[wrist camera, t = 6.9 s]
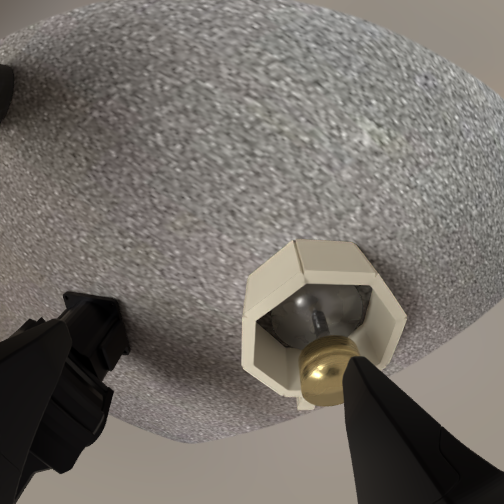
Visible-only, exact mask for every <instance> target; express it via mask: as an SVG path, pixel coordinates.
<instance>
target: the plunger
mask: <svg viewBox="0 0 504 504" xmlns="http://www.w3.org/2000/svg"><path fill="white" fill-rule="evenodd" d="M362 310H363V305H362V299H361V296H360V294H359V292H358V290H357V288H356V287H355V285H343V284H311V283H306V284H305V285H304V286H302V287H301V288H300V289H298V290H297V291H296V292H294V293H293V294H292V295H290V296H289V297H288V298H286V299H285V300H284V301H282V302H281V303H280V304H278V305H277V306H276V307H274V308H273V309H271V321H272V326H273V329H274V331H275V333H276V334H277V336H278V337H279V338H280V339H281V340H282V341H283V342H284V343H286V344H287V345H289V346H291V347H294V348H297V349H300V350H302V351H301V353H300V355H299V358H298V366H299V375H300V384H301V393H302V396H303V398H304V399H305V400H306V401H307V402H309V403H311V404H313V405H317V406H334V405H339V404H342V403H344V397H343V385H342V379H343V375H344V372H345V370H346V367H347V364H348V362H349V360H350V358H351V357H353V356H360V353H359V350H358V347H357V345H356V344H355V342H354V341H353V340H351V339H350V338H348V336H349V335H350V334H351V333H352V332H353V331H354V330H355V328H356V327H357V325H358V323H359V322H360V319H361V316H362Z"/></svg>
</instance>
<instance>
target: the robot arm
mask: <svg viewBox="0 0 504 504" xmlns="http://www.w3.org/2000/svg"><path fill="white" fill-rule="evenodd" d="M63 299H64V302H65V305H66V308H67V309H66V310H65V311H64V312H63V313H62V314H61V315H60V316H59V317H58V318H57V319H56V318H55V319H52V320H49V321H47V322H45V320H44V319H43V318H42V317H41V318H40V319H39V320H38V321H37V322H36V320H35V321H34V320H32V319H28V320H27V321H26V322H25V323H24V324H23V325H22V326H21V327H20V328H19V329H18V330H17V331H16V332H15V333H14V334H13V335H11V336H10V337H9V338H8V339H6V340H4V341H2V342H0V504H16V502H17V501H18V499H19V497H20V496H21V494H22V492H23V491H24V489H25V488H26V486H27V485H28V483H29V482H30V480H31V478H32V477H33V476H34V474H35V473H37V472H41V471H45V470H50V469H53V470H55V471H56V472H58V473H59V474H62V473H65V472H67V471H69V470H71V469H72V468H73V466H74V464H75V462H76V460H77V458H78V457H79V455H80V454H81V452H82V451H83V449H84V448H85V447H88V446H90V445H91V444H93V443H94V442H95V441H96V440H97V438H98V437H99V436H100V435H101V433H102V431H103V429H104V427H105V424H106V421H107V417H108V412H109V408H110V404H111V400H112V397H113V393H114V391H113V390H112V389H111V388H110V387H107V386H106V385H105V384H104V383H103V382H102V381H103V379H104V377H105V376H106V374H107V372H108V371H112V370H113V369H114V367H115V366H116V364H117V362H118V360H119V359H120V357H121V355H129V353H130V347H129V344H128V343H129V341H128V338H127V334H126V331H125V327H124V323H123V321H122V318H121V314H120V309H119V305H118V302H117V301H116V300H115V299H113V298H106V297H99V296H93V295H86V294H80V293H74V292H68V291H67V292H65V293H64V294H63ZM111 303H112V304H113V305H112V304H111ZM342 385H343V397H344V407H345V408H344V409H345V424H346V431H347V437H348V442H349V448H350V453H351V459H352V466H353V472H354V478H355V485H356V492H357V499H358V504H504V472H503V471H501V470H499V469H497V468H496V467H495V466H493V465H492V464H490V463H489V462H487V461H486V460H485V459H483V458H482V457H480V456H479V455H477V454H476V453H474V452H473V451H472V450H470V449H469V448H468V447H466V446H465V445H464V444H462V443H461V442H460V441H459V440H458V439H456V438H455V437H454V436H453V435H452V434H450V433H449V432H448V431H447V430H446V429H445V428H444V427H441V425H440V424H439V423H438V422H437V421H436V420H435V419H434V418H432V417H431V416H430V415H429V414H428V413H427V412H426V411H425V410H424V409H423V408H421V407H420V406H419V405H418V404H417V403H416V402H415V401H413V399H411V398H410V397H409V396H408V395H407V394H406V393H405V392H404V391H403V390H401V389H400V388H399V387H398V386H397V385H396V384H395V383H394V382H392V381H391V380H390V379H389V378H388V377H387V376H386V375H385V374H384V373H383V372H381V371H380V370H379V369H378V368H377V367H376V366H375V365H374V364H373V363H371V362H370V361H369V360H368V359H367V358H366V357H364V356H353V357H351V358H350V360H349V362H348V364H347V367H346V370H345V372H344V375H343V379H342Z"/></svg>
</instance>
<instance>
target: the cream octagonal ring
mask: <svg viewBox="0 0 504 504" xmlns="http://www.w3.org/2000/svg"><path fill="white" fill-rule="evenodd" d="M306 283H311V284H343V285H370V286H371V287H372V293H371V297H370V300H369V304H368V308H367V311H366V315H365V318H364V322H363V324H362V325H361V326H359V327H358V328H356V329H355V330H354V331H353V332H352V333H351V334H350V335H349V336H348V338H350V339H351V340H353V341H354V342H355V344H356V345H357V347H358V350H359V353H360V356H364V357H366V358H367V359H368V360H369V361H370V362H371V363H373V364H374V365H375V366H376V367H377V368H378V369H379V370H380V371H381V370H382V369H384V368H385V367H386V365H387V364H389V363H390V360H391V358H392V356H393V353H394V351H395V349H396V346H397V344H398V341H399V339H400V336H401V334H402V331H403V329H404V326H405V323H406V321H407V318H406V316H407V315H406V314H405V312H404V311H403V309H402V307H401V306H400V304H399V303H398V301H397V300H396V298H395V297H394V295H393V294H392V292H391V291H390V290H389V288H388V287H387V285H386V284H385V282H384V281H383V279H382V278H381V277H380V275H379V274H378V272H377V271H376V270H375V268H374V267H373V266H372V265H371V263H370V262H369V261H368V259H367V258H366V257H365V255H364V254H363V253H362V252H361V250H360V249H359V248H358V247H357V245H356V244H353V242H342V241H326V240H308V239H296V243H295V242H294V241H293V240H292V241H291V242H289V243H288V244H287V245H286V246H285V247H283V248H282V249H281V250H280V251H278V252H277V253H276V254H275V255H274V256H272V257H271V258H270V259H269V260H267V261H266V262H265V263H264V264H263V265H261V266H260V267H259V268H258V269H256V270H255V271H254V272H253V273H252V274H250V275H249V278H247V286H246V294H245V301H244V309H243V316H242V363H241V366H243V369H244V370H245V371H247V372H248V373H249V374H251V375H252V376H254V377H255V378H256V379H258V380H259V381H261V382H262V383H263V384H265V385H266V386H268V387H269V388H271V389H272V390H274V391H275V392H277V393H278V394H279V395H281V396H283V395H285V397H296V399H297V410H314V407H315V405H313V404H311V403H309V402H307V401H306V400H305V399H304V398H303V396H302V393H301V384H300V375H299V366H298V358H299V355H300V353H301V351H302V350H300V349H297V348H286V347H284V346H283V345H282V344H281V343H280V342H278V341H277V340H276V339H275V338H274V337H273V336H271V335H270V334H269V333H268V332H267V331H266V330H265V329H263V328H262V327H261V326H260V325H259V324H258V323H257V322H256V320H258V319H259V318H260V317H262V316H263V315H265V314H266V313H267V312H269V311H270V310H271V309H273V308H274V307H276V306H277V305H278V304H280V303H281V302H282V301H284V300H285V299H286V298H288V297H289V296H290V295H292V294H293V293H294V292H296V291H297V290H298V289H300V288H301V287H302V286H304V285H305V284H306Z"/></svg>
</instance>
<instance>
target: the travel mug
mask: <svg viewBox="0 0 504 504" xmlns="http://www.w3.org/2000/svg"><path fill="white" fill-rule="evenodd" d="M13 86H14V77H13V72H12V70H11V68H10V67H9V66H7V65H2V64H0V122H1V121H2V120H3V118H4V116H5V114H6V112H7V110H8V107H9V105H10V101H11V98H12V93H13Z"/></svg>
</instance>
